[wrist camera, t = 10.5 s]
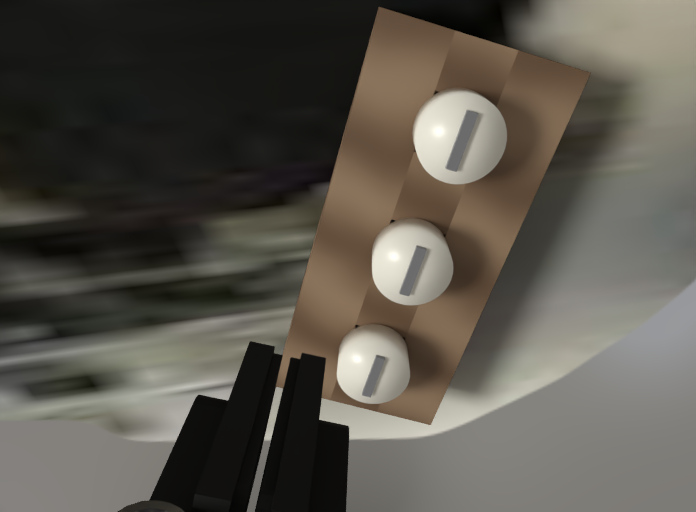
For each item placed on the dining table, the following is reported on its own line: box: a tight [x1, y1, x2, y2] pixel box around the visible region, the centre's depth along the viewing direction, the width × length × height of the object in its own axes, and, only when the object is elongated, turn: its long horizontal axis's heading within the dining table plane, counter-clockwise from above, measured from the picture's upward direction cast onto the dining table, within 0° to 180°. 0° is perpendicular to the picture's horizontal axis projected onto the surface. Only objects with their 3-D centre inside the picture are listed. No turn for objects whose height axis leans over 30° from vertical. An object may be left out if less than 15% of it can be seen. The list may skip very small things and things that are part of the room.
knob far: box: [337, 324, 410, 404], centre depth 37 cm, size 5×5×7 cm
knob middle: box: [372, 218, 453, 305], centre depth 34 cm, size 5×5×7 cm
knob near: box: [412, 88, 507, 184], centre depth 31 cm, size 5×5×7 cm
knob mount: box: [276, 7, 591, 425], centre depth 36 cm, size 26×12×5 cm, turn 164°
